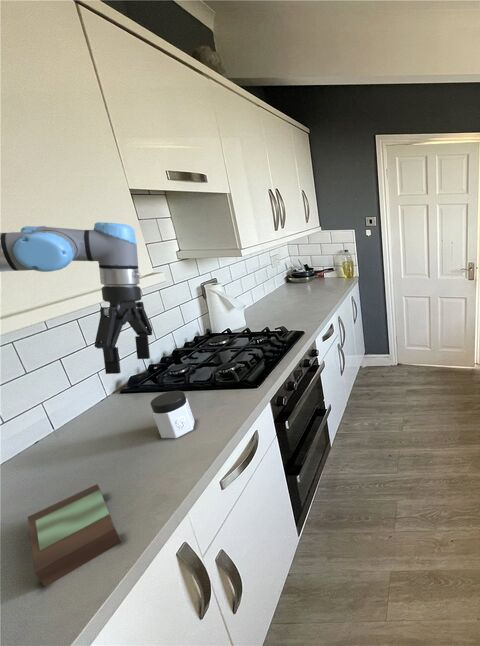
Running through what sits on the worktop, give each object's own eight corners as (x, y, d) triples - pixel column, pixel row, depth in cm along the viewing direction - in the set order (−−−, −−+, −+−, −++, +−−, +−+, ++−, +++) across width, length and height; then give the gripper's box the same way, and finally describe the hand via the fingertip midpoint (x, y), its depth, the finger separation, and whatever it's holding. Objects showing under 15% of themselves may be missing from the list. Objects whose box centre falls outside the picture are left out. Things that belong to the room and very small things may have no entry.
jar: (168, 445, 99) (155, 410, 95) (156, 435, 103) (143, 401, 99) (201, 428, 106) (191, 394, 102) (188, 419, 110) (178, 387, 106)
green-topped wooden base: (38, 533, 74) (27, 515, 72) (105, 499, 82) (97, 483, 80) (46, 590, 63) (34, 571, 61) (123, 545, 71) (114, 527, 69)
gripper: (106, 289, 78) (116, 380, 81) (162, 283, 102) (168, 353, 105) (65, 288, 76) (78, 381, 79) (132, 282, 100) (139, 353, 103)
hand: (129, 365), depth 92 cm, fingers open, 13 cm apart
